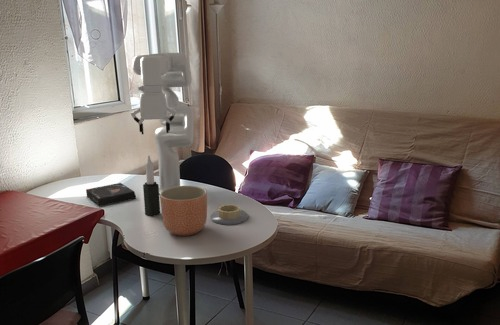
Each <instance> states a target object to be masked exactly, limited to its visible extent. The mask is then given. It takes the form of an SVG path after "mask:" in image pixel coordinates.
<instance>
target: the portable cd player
mask: <svg viewBox="0 0 500 325" xmlns="http://www.w3.org/2000/svg"><path fill="white" fill-rule="evenodd" d="M85 192H86V197H87V198H88V199H89V200H90V201H91V202H93V203H94V204H95V205H96V206H97V207H103V206H107V205H112V204H117V203H122V202H125V201H130V200H131V201H132V200H135V199H136V197H137V196H136V192H135V191H134V190H133V189H131V188H130V187H128V186H126V185H124V184H123V183H122V182H117V183H112V184H107V185H102V186H97V187H93V188H92V187H91V188H87V189H85Z"/></svg>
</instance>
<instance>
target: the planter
mask: <svg viewBox="0 0 500 325" xmlns="http://www.w3.org/2000/svg"><path fill="white" fill-rule="evenodd" d="M207 191H208V190H207V189H205V188H203V187H201V186H197V185H180V186H176V187H171V188H168V189H165V190H164V191H162V192H161V193H160V195H159V201H160V211H161V219H162V224H163V226H164V227H165V229H166V230H167V231H168V232H169V233H171V234H173V235H174V236H177V237H188V236H193V235H195V234H198V233H199V232H201V230H203V229H204V228H205V225H206V223H207V218H208V192H207Z"/></svg>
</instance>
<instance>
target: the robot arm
mask: <svg viewBox="0 0 500 325" xmlns="http://www.w3.org/2000/svg"><path fill="white" fill-rule="evenodd" d="M131 64H132V70H133V72H134V73H135V75H137V76H141V77H140V78H141V85H140V86H138V89H137V90H138V91H141V92H142V93H140V94H139V96H140V97H139V108H137V109H136V110H133V111H132V112H130V115H131V117H132V119H133V120H134V121H135V122H136V123H138V126H139V132H140V133H141V135H144V133H145V132H144V123H143V122H144V121H146V120H148V121H149V120H159V123H160V124H161V125H162V126H160V127H157V128H156V129H155V131H154V139H155V145H156V148H157V149H156V151H157V157H158V175H159V176H158V177H159V196H160V193H161V192H162V191H164V190H165V189H168V188H171V187H176V186H181V178H180V177H181V175H180V174H181V173H180V156H179V153H178V151H177V150H176V149H175V148H179V147H180V148H187V147H190V146H192V145H193V143H194V129H195V128H194V126H195V125H194V123H195V122H194V121H195V119H194V118H195V116H194V110H193V108H192V107H191V106H188V105H179V100H180V99H179V97H178V95H177V93H175V92H174V90H172V89H171V88H188V87H190V85H191V83H192V80H193V79H192V72H191V68H190V63H189V59H188V56H187V55H186V54H185V53H184V52H160V53H159V52H158V53H151V54H143V55H135V56H134V57H133V59H132V63H131ZM139 113H140V118H138V117H137V114H139Z"/></svg>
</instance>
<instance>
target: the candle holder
mask: <svg viewBox="0 0 500 325" xmlns="http://www.w3.org/2000/svg"><path fill="white" fill-rule="evenodd" d="M248 217H249V214H248V212H247V211H244V210H242V209H241V207H240V206H239V205H237V204H232V203H231V204H223V205H220V206H218V207H217V210H215V211H213V212H212V213H211V214H210V220H211V221H212V222H213V223H215V224H219V225H223V226H235V225H239V224H243V223H244V222H246V221H247V220H248V219H249V218H248Z"/></svg>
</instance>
